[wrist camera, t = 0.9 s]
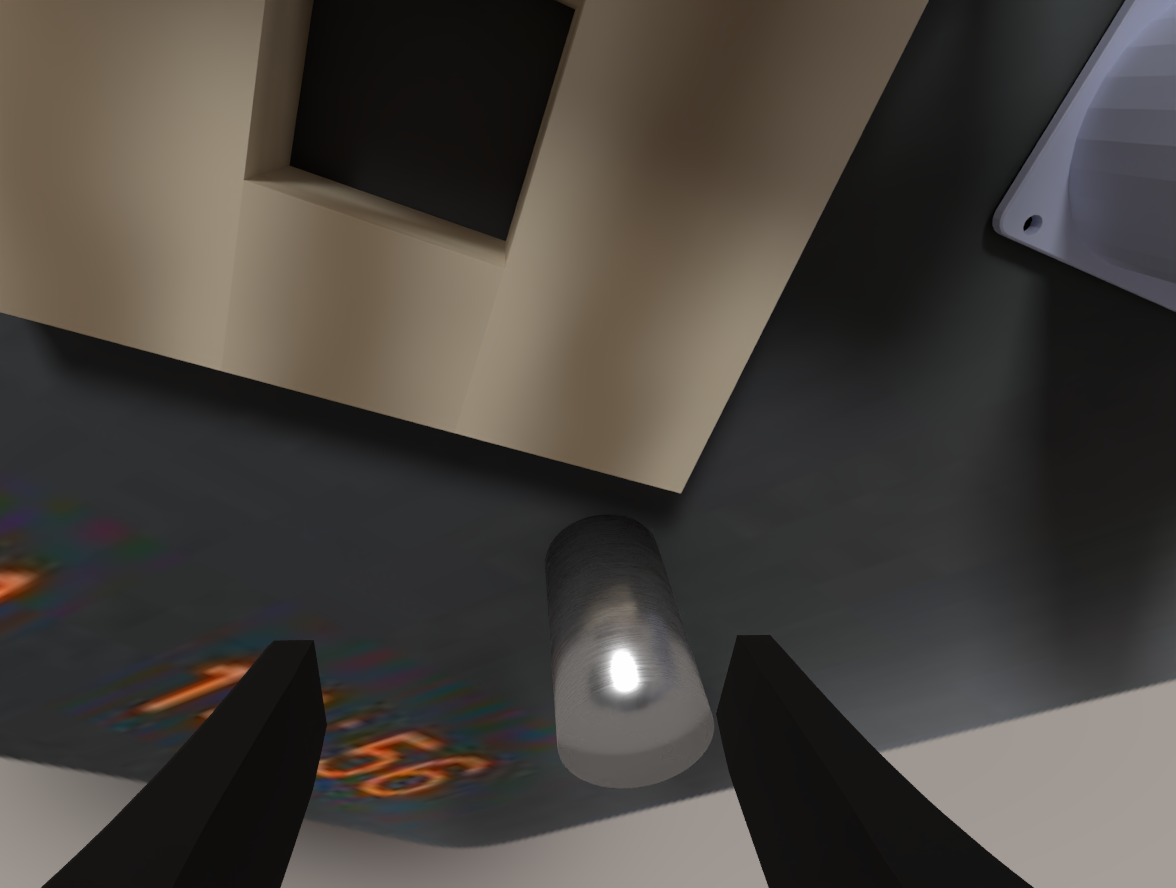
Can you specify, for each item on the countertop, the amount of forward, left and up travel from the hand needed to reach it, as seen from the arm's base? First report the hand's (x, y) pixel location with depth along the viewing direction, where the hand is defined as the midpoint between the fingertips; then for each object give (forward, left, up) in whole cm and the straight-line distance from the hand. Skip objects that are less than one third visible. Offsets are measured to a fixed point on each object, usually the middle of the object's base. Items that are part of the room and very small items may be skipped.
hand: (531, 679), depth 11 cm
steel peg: (-4, +4, -10) cm, 11 cm away
